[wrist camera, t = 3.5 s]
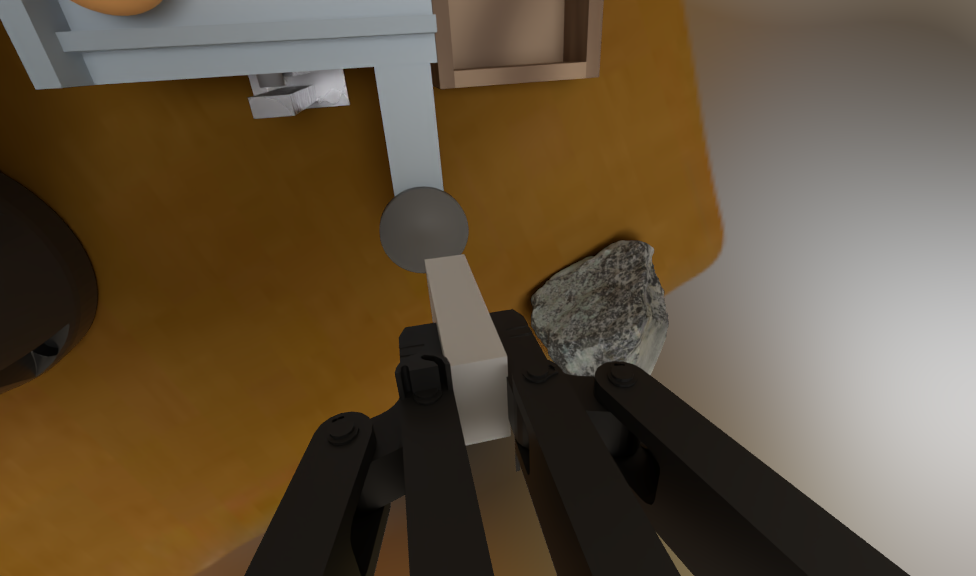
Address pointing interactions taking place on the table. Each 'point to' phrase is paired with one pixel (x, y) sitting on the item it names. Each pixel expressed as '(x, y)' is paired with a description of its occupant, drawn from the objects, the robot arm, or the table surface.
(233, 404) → the table surface
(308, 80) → the pivot stand
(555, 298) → the stone
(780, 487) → the robot arm
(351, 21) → the seesaw
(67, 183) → the table surface
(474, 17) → the tray
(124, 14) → the ball
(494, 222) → the table surface
